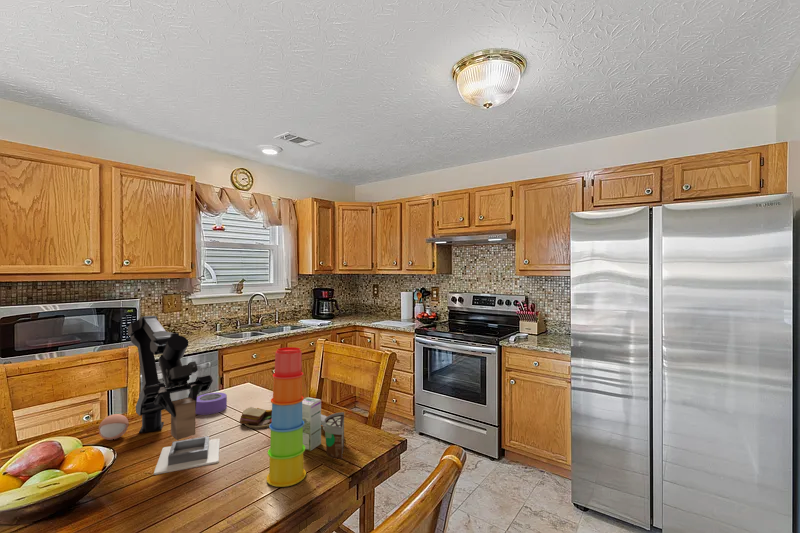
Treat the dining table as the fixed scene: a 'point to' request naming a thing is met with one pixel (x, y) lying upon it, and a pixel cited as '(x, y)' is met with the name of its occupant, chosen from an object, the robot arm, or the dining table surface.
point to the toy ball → (113, 426)
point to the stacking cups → (287, 420)
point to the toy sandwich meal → (256, 418)
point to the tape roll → (211, 403)
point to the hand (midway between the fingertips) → (184, 413)
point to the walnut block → (183, 418)
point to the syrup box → (311, 422)
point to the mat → (212, 459)
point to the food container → (334, 435)
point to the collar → (190, 455)
